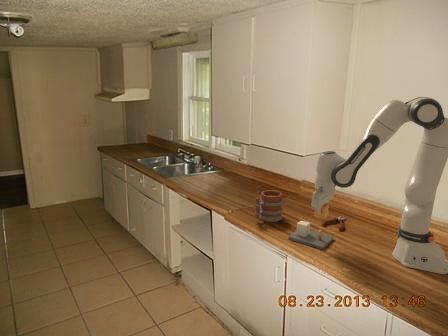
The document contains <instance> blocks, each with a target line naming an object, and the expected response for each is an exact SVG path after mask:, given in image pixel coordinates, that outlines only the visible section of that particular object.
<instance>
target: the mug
mask: <svg viewBox="0 0 448 336" xmlns="http://www.w3.org/2000/svg"><path fill="white" fill-rule="evenodd" d="M283 203H284V200H283V193H282V191H279V190H275V189H274V190H270V189H268V190H267V189H266V190H263V191H262V192H261V195H260V198H259V197H256V198H255V205H254V206H255V211H254V216H255V218H256V219H261V220H262V221H263V222H264V221H265V222H272V223H276V222H280V221H281V220H282V219H283V217H284V216H283V214H282V213H283V207H282V205H283Z"/></svg>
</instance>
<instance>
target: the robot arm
mask: <svg viewBox="0 0 448 336" xmlns="http://www.w3.org/2000/svg"><path fill="white" fill-rule="evenodd" d="M409 122H412V123H414V124H416V125H418V126H420V127H422V128H423V135H422V137H421V140H420V144H419V146H418V150H417V152H416V155H415V159H414V161H413V164H412V167H411V170H410V172H409V174H408V178H407V180H406V182H405V186H404V195H405V199H404V204H403V207H402V213H401V214H402V215H401V220H400V221H401V222H400V225H399V226H398V230H397V241H396V245H395V247H394V249H393V251H392V254H391V255H392V257H393V258H394V259H395V260H397V261H398V262H400V263H401V265H402V266H403V267H407V268H411V269H416V270H420V271H425V272H430V273H435V274H440V275H445V274H448V260H447V259H446V254H445V251H444V249H443V248H441V247H440V246H439V244H437V243H436V242H435V241H434V239H435V238H434V236H435V235H434V232H431V231H430V228H431V227H430V226H431V221H432V215H433V210H434V204H435V199H436V195H437V189H438V188H439V184H440V181H441V178H442V175H443V173H444V170H445V166H446V164H447V161H448V117H445V114H444V111H443V107H442V105H441V104H440V103H439V102H438V101H437V100H436V99H435V98H432V97H429V96H418V97H415V98H413V99H411V100H409V101H406V102H403V101H402V100H398V99H392V100H389V102H387V103H386V104H385V105H384V106H382V107H381V109H380V110H378V112H377V113H376V114H375V115H374V116H373V117H372V119H371V120H370V121H369V123H368V124H367V126H366V128H365V130H364V132H363V135H362V137H361V140H360V142H359V144H358V146H357V147H356V148H355V150H354V151H353V152H352V153H351V154H350V156H349V157H348V158H344V157H342V156H341V155H339V154H338V152H336V151H334V150H333V151H329V150H328V151H323V152H321V153H320V154H319V155H318V157H317V161H316V169H315V170H316V175H315V180H314V189H316V190H315V191H313V193H312V197H311V204H310V205H311V209H314V210H315V209H317V214H319V215H320V214H321V212H322V210H321V208H322V206H323V205H325V204H329V202H330V201H331V200H333V198H334V196H335V191H336V187H338V188H342V189H345V188H346V189H347V188H350V187H351V186H352V185H353V184H354V183H355V181H356V177H357V174H358V171H359V170H360V169H361V168H362V167H363V166H364V164H365V163H366V162H367V160H368V159H369V158H370V157H371V155H373V154H374V153H375V152H376V151H377V150H378V149H379V148H381V147H382V146H383V145H385V144H386V143H387V142H388V141H389V140H390V139H391V138H392V137H393V136H394V135H395V134H396V133H397V132H398V131H399V129H400V128H401V127H402V126H404V125H405V124H406V123H409Z"/></svg>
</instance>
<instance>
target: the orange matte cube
mask: <svg viewBox="0 0 448 336" xmlns="http://www.w3.org/2000/svg"><path fill="white" fill-rule="evenodd" d="M329 208H330V204H329V203H328V204H325V205H323V206H322V208H321V210H322V212H321V214H320V215H319V214H317V209H315V208H314V214H313V217H315V218H318V219H322V220H325V219H326V218H328V216H329Z"/></svg>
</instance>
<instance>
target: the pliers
mask: <svg viewBox="0 0 448 336" xmlns="http://www.w3.org/2000/svg"><path fill="white" fill-rule="evenodd" d="M346 218H347V217H346V216H344V217H342V215H340V216H338V217H334V218H333V219H328V220H324V221H323V222H322V224H321V227H323V228H324V227H326V225H330V224H337V223H339V225H340V227H339V228H338V232H343V231H344V230H345V224H344V223H345V220H346Z"/></svg>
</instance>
